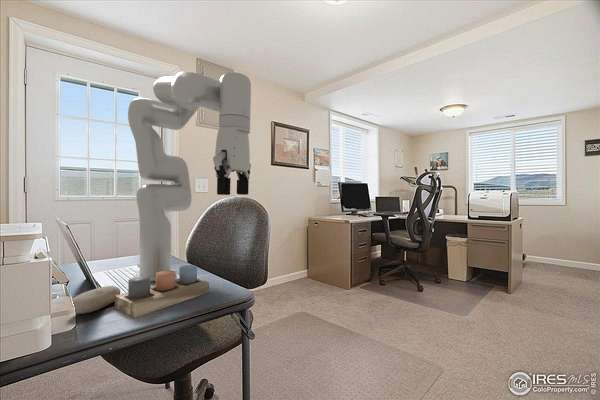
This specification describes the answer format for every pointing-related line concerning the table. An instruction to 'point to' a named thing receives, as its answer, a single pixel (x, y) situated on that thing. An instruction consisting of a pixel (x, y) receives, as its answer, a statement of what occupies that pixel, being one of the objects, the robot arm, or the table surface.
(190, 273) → the slate button
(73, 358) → the table surface
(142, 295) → the charcoal button
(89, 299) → the stone
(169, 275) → the terracotta button
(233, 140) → the robot arm
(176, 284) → the birch board
